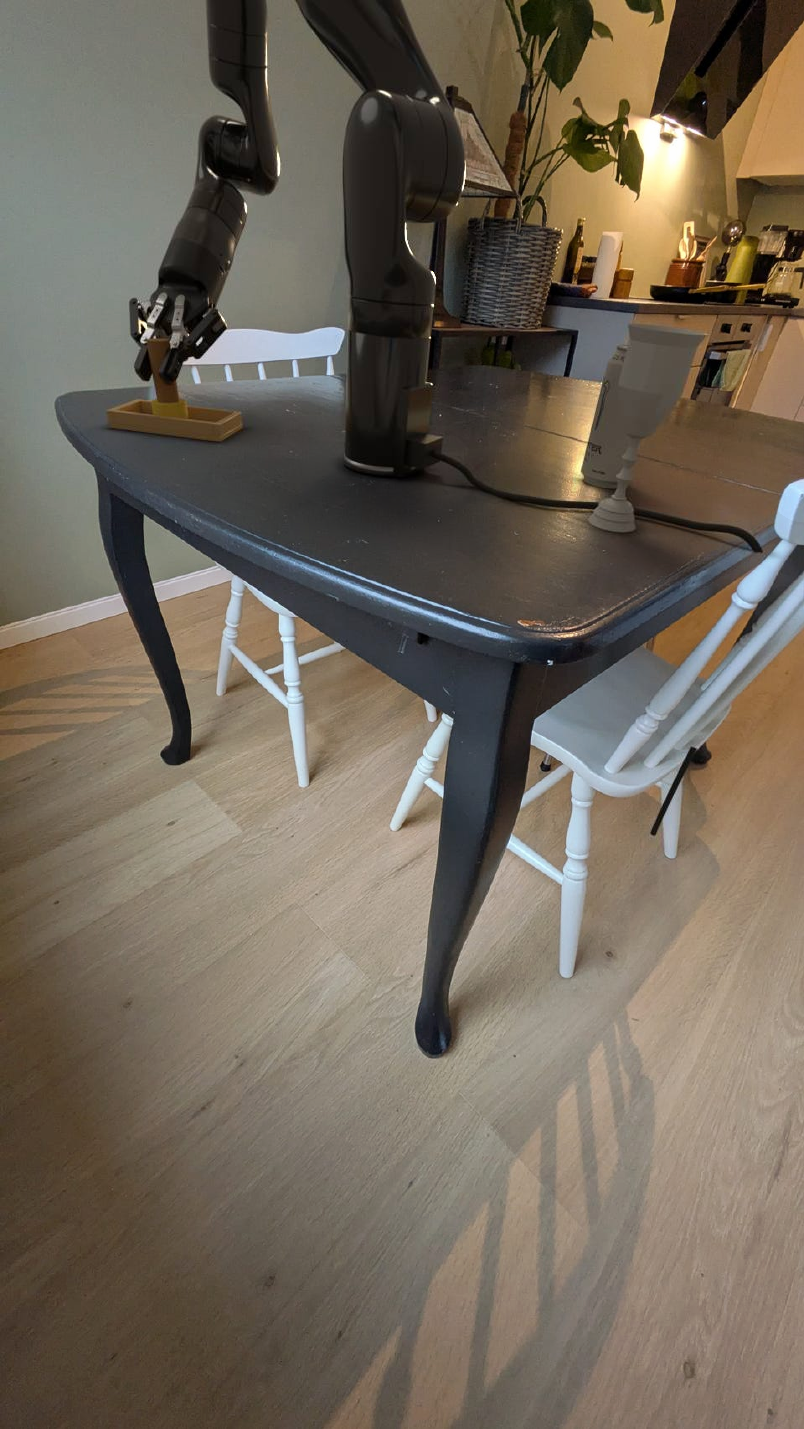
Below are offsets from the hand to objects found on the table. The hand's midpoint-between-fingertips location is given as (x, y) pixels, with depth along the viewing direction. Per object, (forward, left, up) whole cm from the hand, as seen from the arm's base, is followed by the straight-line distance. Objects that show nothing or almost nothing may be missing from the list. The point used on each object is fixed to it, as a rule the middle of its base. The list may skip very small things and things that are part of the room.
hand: (153, 378), depth 80 cm
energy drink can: (-54, -22, -6) cm, 59 cm away
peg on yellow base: (0, -2, -5) cm, 6 cm away
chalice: (-59, -7, -6) cm, 60 cm away
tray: (-1, -2, -6) cm, 7 cm away
